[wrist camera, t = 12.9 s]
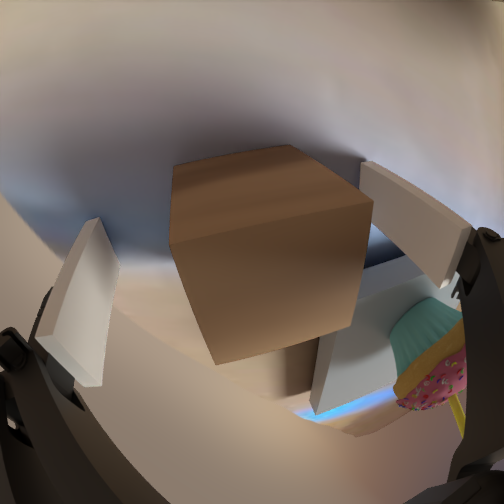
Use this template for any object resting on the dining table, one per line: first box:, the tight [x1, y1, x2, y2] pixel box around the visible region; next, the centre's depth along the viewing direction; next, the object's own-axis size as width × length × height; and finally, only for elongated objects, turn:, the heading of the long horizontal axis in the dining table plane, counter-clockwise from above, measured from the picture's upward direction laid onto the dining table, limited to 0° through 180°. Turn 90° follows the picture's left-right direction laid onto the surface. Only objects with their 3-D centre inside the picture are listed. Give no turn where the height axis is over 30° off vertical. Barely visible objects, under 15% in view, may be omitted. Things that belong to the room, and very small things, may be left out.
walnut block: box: [169, 145, 374, 365], centre depth 10 cm, size 5×5×6 cm
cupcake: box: [389, 298, 467, 439], centre depth 12 cm, size 9×8×12 cm
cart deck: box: [309, 255, 460, 415], centre depth 21 cm, size 18×14×3 cm
